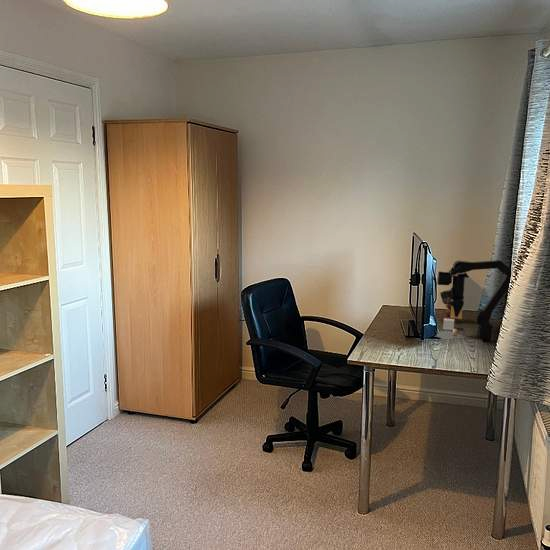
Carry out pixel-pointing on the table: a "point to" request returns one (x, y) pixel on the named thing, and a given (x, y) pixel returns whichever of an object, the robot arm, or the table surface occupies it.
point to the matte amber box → (454, 313)
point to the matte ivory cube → (448, 324)
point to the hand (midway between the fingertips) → (456, 316)
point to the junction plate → (449, 334)
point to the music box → (447, 311)
